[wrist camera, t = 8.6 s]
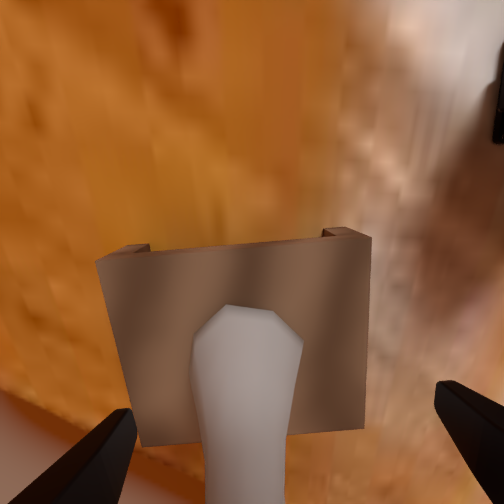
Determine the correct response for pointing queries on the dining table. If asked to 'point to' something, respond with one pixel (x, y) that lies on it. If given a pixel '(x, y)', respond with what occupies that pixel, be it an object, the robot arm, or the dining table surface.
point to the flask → (244, 402)
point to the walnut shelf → (244, 295)
